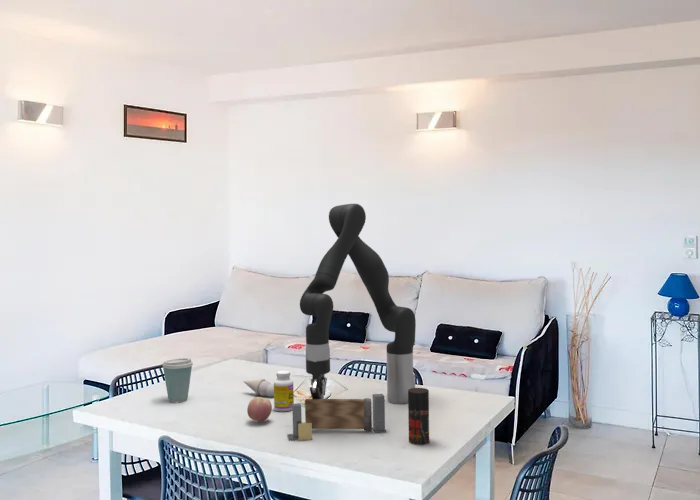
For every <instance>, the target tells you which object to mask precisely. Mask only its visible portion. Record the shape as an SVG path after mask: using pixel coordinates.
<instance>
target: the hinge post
mask: <svg viewBox="0 0 700 500" xmlns="http://www.w3.org/2000/svg"><path fill="white" fill-rule="evenodd" d="M385 397H386V396H385V395H384V394H383V393H375V394H374V393H373V394H372V432H373V433H374V434H383V433H387V429H386V416H385V415H386V411H385V410H386V406H385V405H386V404H385V403H386V402H385V401H386V400H385Z"/></svg>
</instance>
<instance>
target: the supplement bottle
mask: <svg viewBox="0 0 700 500" xmlns="http://www.w3.org/2000/svg"><path fill="white" fill-rule="evenodd" d="M275 373H276V378H275V379H274V381H273V384H274V397H273V408H274V410H275V412H281V413H282V412H283V413H284V412H290V411H292V404H295V400H294V395H295V394H294V393H295V392H294V380H293V379H292V378H291V371H289V370H279V371H276V372H275Z"/></svg>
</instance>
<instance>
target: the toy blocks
mask: <svg viewBox="0 0 700 500" xmlns="http://www.w3.org/2000/svg"><path fill="white" fill-rule="evenodd" d="M291 412H292V433H287V435H286V436H287V440H288V441H289V442H291V441H298V442H300V441H301V440H302V441H311V440H313V429H312V422H302V421H303V420H302V404H301V403H294V404H292V410H291ZM290 440H291V441H290Z"/></svg>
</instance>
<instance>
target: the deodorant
mask: <svg viewBox="0 0 700 500" xmlns="http://www.w3.org/2000/svg"><path fill="white" fill-rule="evenodd" d="M429 392H430V391H429V389H427V388H425V387H424V388H423V387H415V388H411V389H409V390H408V403H407V404H408V405H407V407H408V408H407V409H408V410H407V411H408V414H407V416H408V421H407V422H408V443H409V444H411V445H415V446H424V445H427V444H429V443H430V401H429V399H430V397H429V396H430V394H429Z"/></svg>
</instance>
